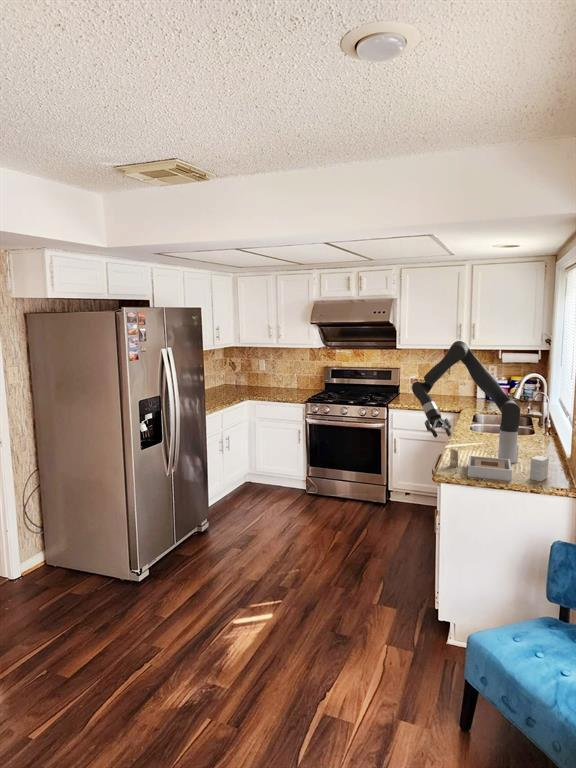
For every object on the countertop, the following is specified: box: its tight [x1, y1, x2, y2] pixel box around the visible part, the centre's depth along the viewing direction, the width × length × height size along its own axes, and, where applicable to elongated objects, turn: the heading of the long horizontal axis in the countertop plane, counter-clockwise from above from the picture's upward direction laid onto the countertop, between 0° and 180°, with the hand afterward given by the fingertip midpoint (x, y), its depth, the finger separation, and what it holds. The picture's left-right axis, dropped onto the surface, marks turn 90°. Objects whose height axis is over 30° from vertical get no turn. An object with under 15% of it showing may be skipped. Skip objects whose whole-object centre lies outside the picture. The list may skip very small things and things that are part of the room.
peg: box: [449, 448, 460, 469], centre depth 273 cm, size 4×4×9 cm
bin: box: [466, 455, 513, 482], centre depth 262 cm, size 20×20×6 cm
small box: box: [529, 455, 549, 482], centre depth 253 cm, size 8×6×10 cm
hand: (443, 436), depth 281 cm, fingers open, 8 cm apart
